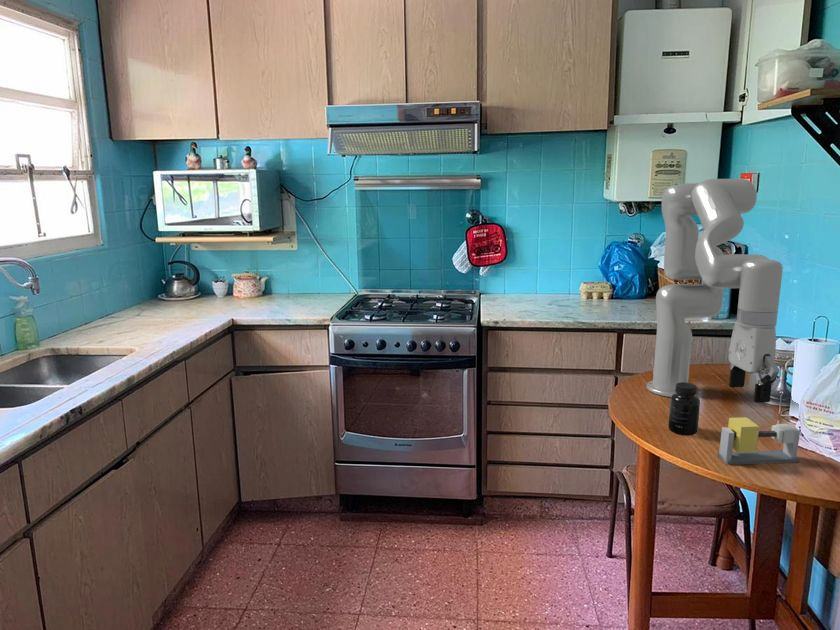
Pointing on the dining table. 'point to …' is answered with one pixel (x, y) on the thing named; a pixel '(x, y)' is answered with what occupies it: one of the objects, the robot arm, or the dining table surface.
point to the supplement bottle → (684, 410)
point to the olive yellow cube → (744, 434)
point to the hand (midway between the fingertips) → (748, 394)
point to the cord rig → (778, 433)
